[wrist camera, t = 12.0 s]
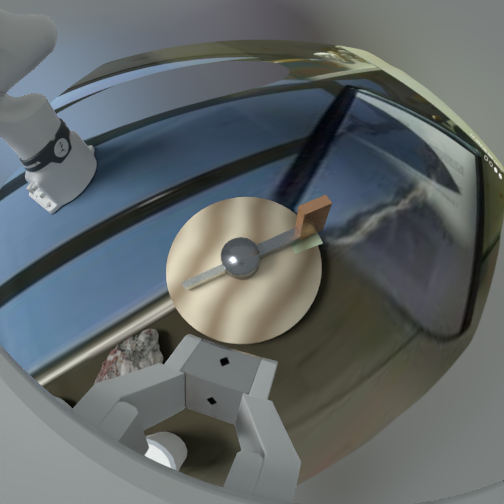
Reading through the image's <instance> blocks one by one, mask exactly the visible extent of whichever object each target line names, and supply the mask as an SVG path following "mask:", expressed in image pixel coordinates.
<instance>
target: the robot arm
mask: <svg viewBox="0 0 504 504" xmlns="http://www.w3.org/2000/svg"><path fill="white" fill-rule="evenodd" d="M56 40H57V29H56V26H55V23H54V22H53V21H52V19H51V18H49V17H48V16H46V15H42V14H33V15H16V14H12V13H9V12H6V11H4V10H2V9H1V8H0V137H1V138H2V139H3V140H4V141H5V142H6V143H7V144H8V145H9V146H10V147H11V148H12V149H13V150H14V151H15V152H16V153H17V154H18V156H19V157H20V161H21V162H22V165H23V166H24V167H25V169H26V175H25V179H26V180H27V181H28V182H29V185H28V187H27V190H28V191H29V196H30V197H31V198H32V199H33V200H34V201H36V202H37V203H38V204H39V205H40V206H42V207H43V208H44V209H45V210H46V211H48V212H49V213H50V214H53V213H54V212H56V211H57V210H58V209H59V208H60V207H61V206H62V205H64V204H66V203H68V202H70V201H72V200H73V199H74V198H76V197H77V196H78V195H79V194H80V193H81V192H82V191H83V190H84V189H85V188H86V187H87V185H88V184H89V183H90V181H91V179H92V178H93V176H94V173H95V171H96V166H97V162H96V159H95V157H94V151H95V149H94V147H93V146H87V145H86V144H85V142H84V141H83V140H82V139H81V138H80V136H79V135H78V134H77V133H76V132H75V131H70V130H69V129H68V127H67V125H66V124H65V122H63V120H62V119H60V118H58V116H57V115H56V113H55V111H54V110H53V108H52V107H51V105H50V103H49V102H48V100H47V99H46V97H45V96H43V95H42V94H38V93H31V94H28V95H24V96H21V97H11V96H9V95H8V94H7V93H6V92H7V91H8V90H9V89H10V88H11V87H13V86H14V85H15V84H16V83H17V82H19V81H20V80H21V79H22V78H23V77H25V76H26V75H27V74H28V73H30V72H31V71H32V70H33V69H35V68H36V67H37V66H38V65H39V64H40V63H41V62H42V61H43V60H44V59H45V58H46V57H47V56H48V55H49V54H50V53H51V52H52V51H53V49H54V47H55V44H56ZM277 364H278V363H277V361H274V360H270V359H267V358H263V357H259V356H255V355H252V354H248V353H245V352H241V351H238V350H234V349H231V348H228V347H225V346H222V345H219V344H216V343H213V342H211V341H208V340H205V339H201V338H199V337H196V336H194V335H191V334H188V335H186V336H185V337H184V339H183V340H182V341H181V343H180V344H179V345H178V347H177V348H176V349H175V351H174V352H173V353H172V354H171V356H170V357H169V358H168V360H167V361H166V362H165V364H162V363H158V364H155V365H152V366H149V367H146V368H143V369H140V370H137V371H134V372H131V373H128V374H125V375H122V376H118V377H115V378H112V379H108V380H105V381H102V382H98V383H96V384H95V385H94V386H93V387H92V388H91V389H90V390H89V391H88V392H87V393H86V395H85V396H84V397H83V398H82V399H81V400H80V401H79V402H78V403H77V404H76V405H75V407H74V408H73V409H72V410H70V409H69V408H68V407H66V406H65V405H64V404H63V403H61V402H60V401H59V400H58V399H56V398H55V397H54V396H53V395H51V394H50V393H49V392H48V391H47V390H46V389H44V388H43V387H42V386H41V385H40V384H39V383H38V382H37V381H36V380H34V379H33V378H32V377H31V376H30V375H29V374H28V373H27V372H26V371H25V370H24V369H23V368H22V367H21V366H20V365H19V364H18V363H17V362H16V361H15V360H14V359H13V358H12V357H11V356H10V354H9V353H8V352H7V351H6V350H5V349H4V348H3V347H2V346H1V344H0V504H297V503H293V498H294V494H295V490H296V485H297V480H298V476H299V471H300V466H301V461H300V459H299V457H298V455H297V453H296V451H295V449H294V447H293V445H292V443H291V440H290V438H289V436H288V434H287V432H286V430H285V428H284V426H283V424H282V421H281V419H280V417H279V415H278V413H277V411H276V409H275V406H274V404H273V402H272V401H269V400H268V396H269V393H270V389H271V386H272V382H273V379H274V375H275V372H276V368H277ZM185 407H186V408H189V409H192V410H194V411H197V412H200V413H203V414H206V415H209V416H212V417H214V418H217V419H220V420H223V421H226V422H228V423H231V424H234V425H235V429H236V432H237V436H238V440H239V443H240V447H241V450H242V451H240V452H237V454H236V457H235V459H234V462H233V464H232V467H231V469H230V472H229V474H228V477H227V479H226V481H225V484H224V486H223V487H220V486H217V485H214V484H211V483H208V482H205V481H202V480H199V479H197V478H194V477H191V476H189V475H186V474H184V473H181V472H179V471H176V470H174V469H172V468H169V467H167V466H165V465H163V464H160V463H158V462H156V461H154V460H152V459H150V458H148V457H146V456H145V454H146V452H147V451H148V449H149V445H148V442H147V439H146V436H145V433H144V430H146V429H148V428H150V427H152V426H154V425H155V424H157V423H159V422H161V421H163V420H165V419H167V418H169V417H171V416H173V415H174V414H176V413H178V412H180V411H182V410H183V409H185ZM415 504H504V480H503V481H500V482H497V483H495V484H493V485H489V486H487V487H483V488H480V489H477V490H474V491H471V492H467V493H464V494H460V495H456V496H452V497H448V498H444V499H439V500H434V501H428V502H422V503H415Z"/></svg>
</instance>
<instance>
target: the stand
mask: <svg viewBox="0 0 504 504" xmlns="http://www.w3.org/2000/svg"><path fill="white" fill-rule="evenodd" d="M296 219H297V215H296V214H295V213H294V212H292V211H291V210H289V209H288V208H286V207H284V206H282V205H280V204H278V203H276V202H273V201H270V200H266V199H262V198H255V197H237V198H231V199H226V200H223V201H219V202H217V203H214V204H212V205H210V206H208V207H206V208H204V209H203V210H201V211H200V212H198V213H197V214H195V215H194V216H193V217H192V218H191V219H190V220H189V221H187V223H186V224H185V225H184V226H183V227H182V228H181V230H180V231H179V233H178V234H177V236H176V238H175V240H174V241H173V243H172V246H171V249H170V251H169V255H168V259H167V267H166V278H167V285H168V290H169V293H170V296H171V299H172V301H173V303H174V305H175V307H176V309H177V310H178V312H179V313H180V314H181V316H182V317H183V318H184V319H185V320H186V321H187V322H188V323H189V324H190V325H191V326H192V327H194V328H195V329H196V330H198V331H199V332H201V333H203V334H204V335H206V336H208V337H211V338H213V339H215V340H218V341H222V342H226V343H230V344H254V343H260V342H264V341H267V340H270V339H273V338H275V337H277V336H279V335H281V334H283V333H284V332H286V331H288V330H289V329H291V328H292V327H293V326H294V325H295V324H296V323H297V322H299V320H300V319H301V318H302V317H303V316H304V315H305V314H306V312H307V311H308V309H309V308H310V306H311V305H312V303H313V301H314V299H315V297H316V294H317V292H318V289H319V285H320V281H321V274H322V263H321V255H320V251H319V247H318V245H320V244H322V243H323V242H322V240H321V239H320V237H319V235H318V233H315V234H313V235H311V236H309V237H306V238H304V239H302V240H300V241H299V242H297V243H295V244H293V245H291V246H289V247H286V248H284V249H282V250H280V251H278V252H276V253H273V254H271V255H269V256H267V257H265V258H263V259H260V266H259V269H258V271H257V272H256V273H255V274H254V275H253V276H252V277H250V278H247V279H235V278H233V277H231V276H230V275H229V274H228V273H227V272H226V273H225V274H223V275H220V276H218V277H216V278H214V279H211V280H209V281H207V282H205V283H203V284H200V285H198V286H196V287H194V288H192V289H189V290H187V291H186V290H185V289H184V287H183V284H182V282H183V281H186V280H188V279H190V278H192V277H194V276H197V275H199V274H201V273H203V272H206V271H208V270H210V269H212V268H214V267H217V266H219V265H221V264H222V261H221V251H222V248H223V246H224V245H225V244H226V243H227V242H228V241H230V240H231V239H234V238H238V237H244V238H248V239H250V240H252V241H253V242H254V243H255V244H256V245H257V244H260V243H262V242H264V241H266V240H268V239H271V238H273V237H275V236H277V235H280V234H282V233H284V232H286V231H288V230H291V229H293V228H295V225H296Z"/></svg>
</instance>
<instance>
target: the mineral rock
mask: <svg viewBox="0 0 504 504" xmlns="http://www.w3.org/2000/svg"><path fill="white" fill-rule="evenodd" d="M158 337H159V334H158V332H157V331H156V330H155V329H146V330H144V331H143V332H141V333H140V334H139V335H135V336H131V337H130V338H129V339H128V340H125V341H124V342H123V343H122V344H121V345H119V344H118V345H117V346H116V348H115V349H113V350H111V352H110V354H109V355H108V357H107V359H106V360H105V361H104V362H103V364H102V368H101V371H100V372H99V373H98V376H97V378H96V380H95V383H94V385H95V384H96V383H98V382H102V381H105V380H108V379H112V378H115V377H118V376H122V375H125V374H128V373H131V372H134V371H137V370H140V369H143V368H146V367H149V366H152V365H155V364H158V363H162V361H163V356H162V354H161V352H160V350H159V343H158ZM162 364H163V363H162Z"/></svg>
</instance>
